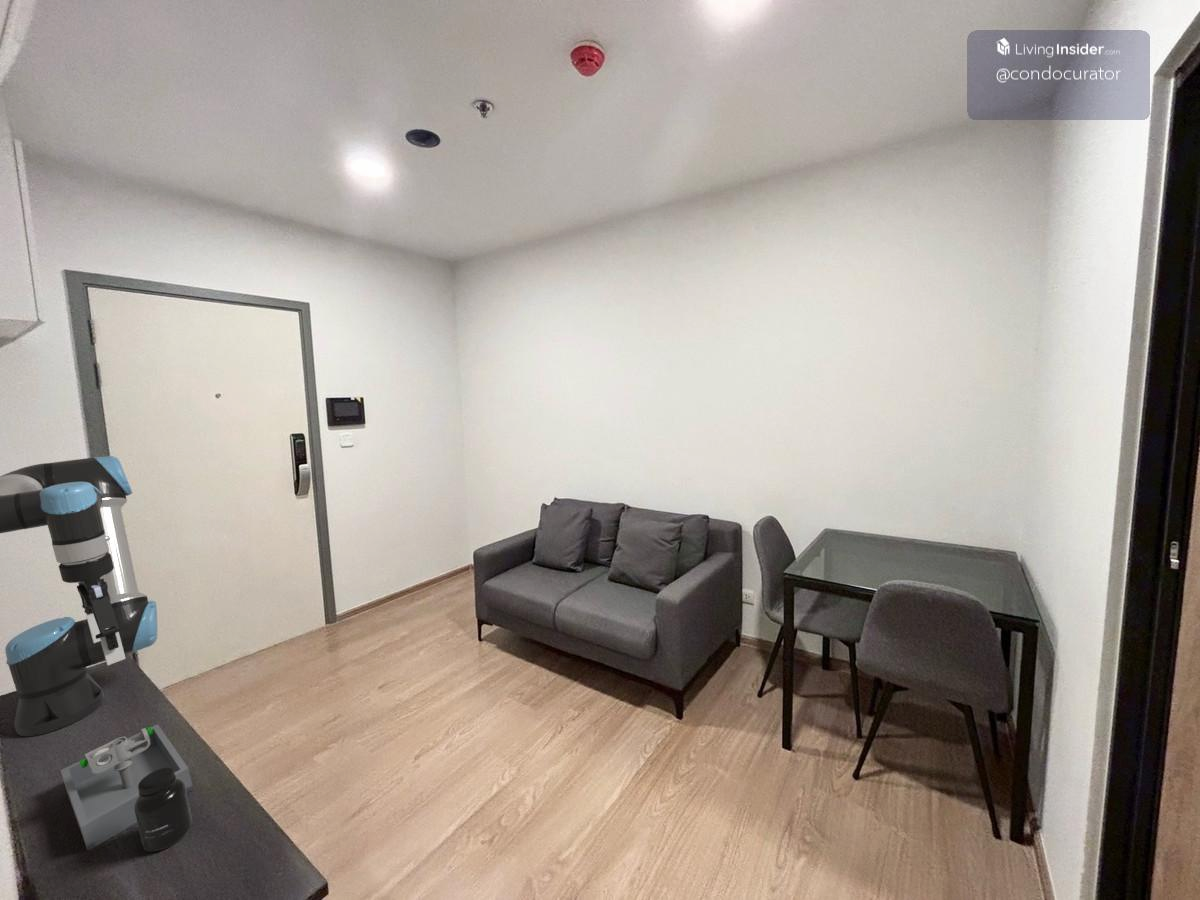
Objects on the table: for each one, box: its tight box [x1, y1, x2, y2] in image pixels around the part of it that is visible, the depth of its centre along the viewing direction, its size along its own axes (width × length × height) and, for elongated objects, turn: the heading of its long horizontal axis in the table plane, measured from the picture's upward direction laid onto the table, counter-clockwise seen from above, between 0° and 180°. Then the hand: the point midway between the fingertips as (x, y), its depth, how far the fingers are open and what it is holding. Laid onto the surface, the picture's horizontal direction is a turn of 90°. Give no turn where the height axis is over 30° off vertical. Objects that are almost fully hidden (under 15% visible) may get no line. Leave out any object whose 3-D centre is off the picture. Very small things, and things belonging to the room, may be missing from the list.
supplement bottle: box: [134, 767, 193, 853], centre depth 88 cm, size 7×7×12 cm
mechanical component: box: [79, 726, 153, 789], centre depth 98 cm, size 3×10×10 cm, turn 145°
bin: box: [60, 723, 194, 852], centre depth 98 cm, size 22×15×5 cm
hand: (109, 650), depth 105 cm, fingers open, 13 cm apart
